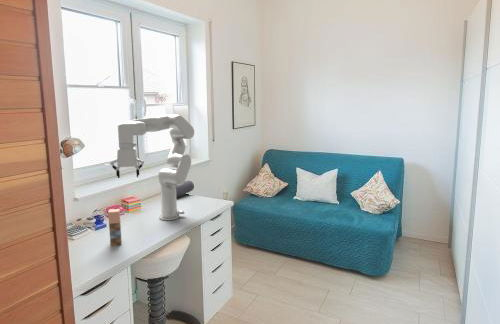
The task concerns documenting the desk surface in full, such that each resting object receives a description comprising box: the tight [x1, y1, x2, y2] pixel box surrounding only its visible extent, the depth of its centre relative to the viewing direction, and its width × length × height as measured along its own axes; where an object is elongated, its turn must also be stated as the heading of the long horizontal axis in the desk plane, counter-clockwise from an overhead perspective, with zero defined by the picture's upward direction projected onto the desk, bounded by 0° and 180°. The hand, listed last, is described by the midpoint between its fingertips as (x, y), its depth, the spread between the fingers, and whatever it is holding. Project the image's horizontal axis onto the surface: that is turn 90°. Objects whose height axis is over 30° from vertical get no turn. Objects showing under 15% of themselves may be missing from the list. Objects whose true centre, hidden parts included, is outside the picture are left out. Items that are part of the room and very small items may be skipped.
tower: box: [108, 222, 123, 247], centre depth 187 cm, size 5×5×12 cm
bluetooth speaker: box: [175, 180, 195, 198], centre depth 279 cm, size 23×9×10 cm, turn 149°
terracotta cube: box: [107, 208, 121, 225], centre depth 186 cm, size 5×5×6 cm
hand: (128, 177), depth 197 cm, fingers open, 9 cm apart
